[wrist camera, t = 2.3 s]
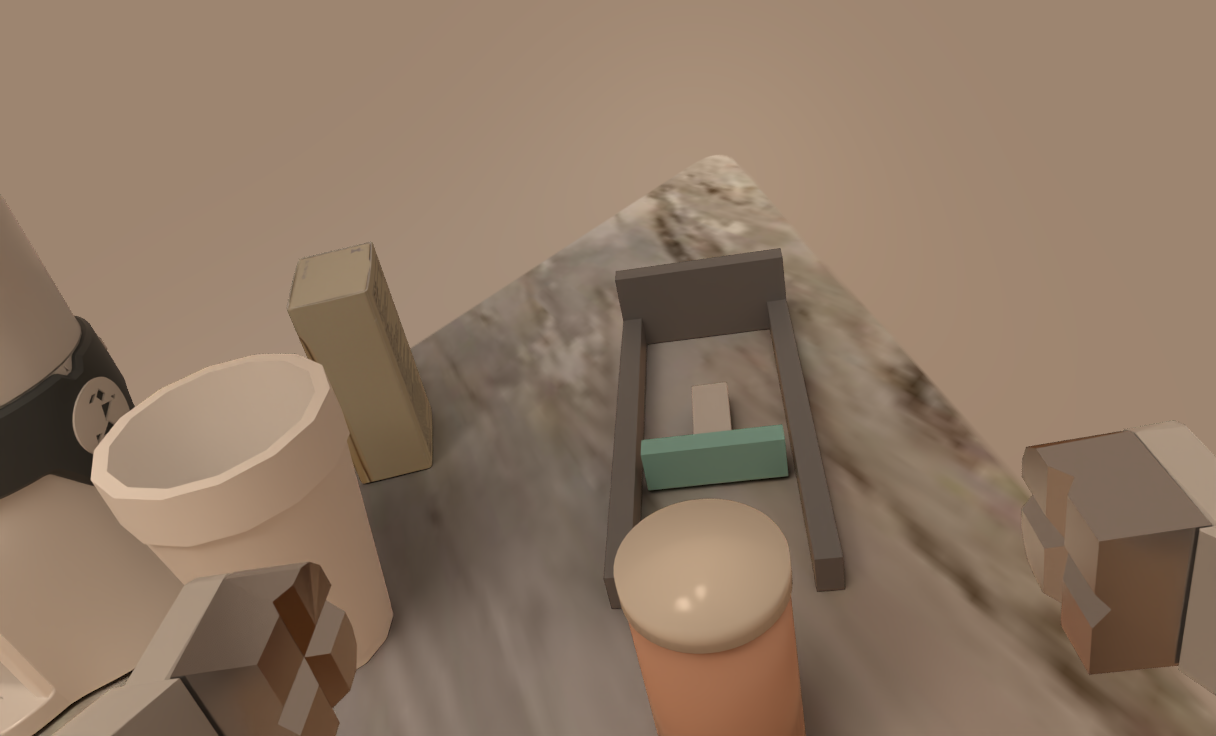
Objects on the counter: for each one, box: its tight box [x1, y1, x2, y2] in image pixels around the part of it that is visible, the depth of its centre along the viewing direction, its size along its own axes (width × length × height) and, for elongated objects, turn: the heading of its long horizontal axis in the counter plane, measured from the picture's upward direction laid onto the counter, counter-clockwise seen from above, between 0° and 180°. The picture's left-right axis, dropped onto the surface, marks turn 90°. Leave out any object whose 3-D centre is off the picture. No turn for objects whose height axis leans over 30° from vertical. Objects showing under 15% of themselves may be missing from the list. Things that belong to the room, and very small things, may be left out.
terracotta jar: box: [614, 499, 806, 736], centre depth 30 cm, size 5×5×11 cm
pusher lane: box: [604, 248, 845, 609], centre depth 48 cm, size 23×10×5 cm, turn 177°
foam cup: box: [91, 353, 394, 670], centre depth 39 cm, size 10×9×13 cm
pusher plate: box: [641, 382, 788, 490], centre depth 48 cm, size 7×7×2 cm
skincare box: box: [287, 242, 432, 484], centre depth 51 cm, size 6×4×12 cm
